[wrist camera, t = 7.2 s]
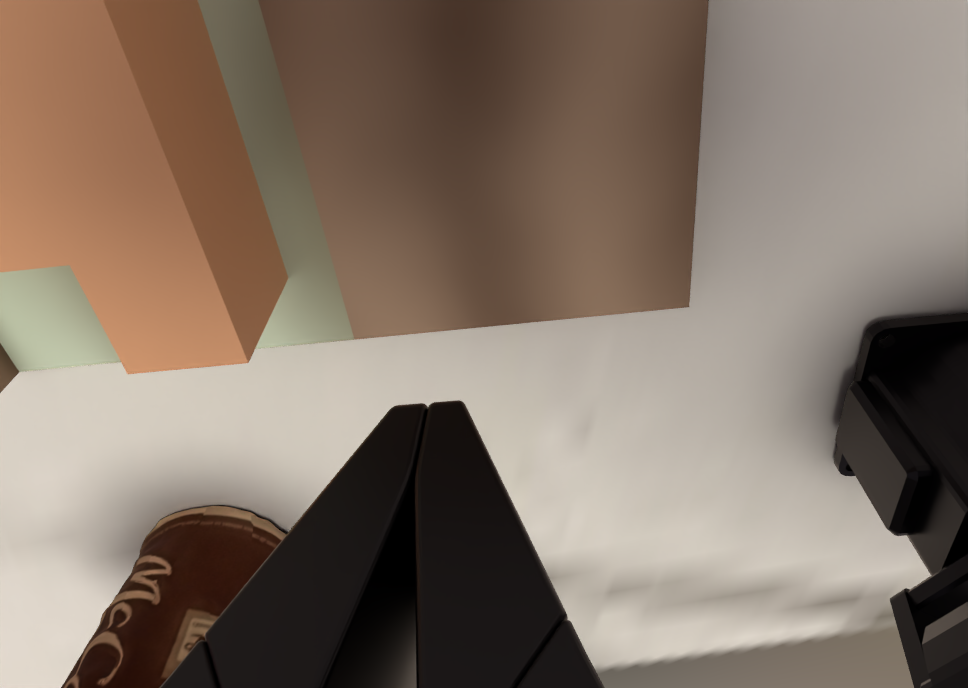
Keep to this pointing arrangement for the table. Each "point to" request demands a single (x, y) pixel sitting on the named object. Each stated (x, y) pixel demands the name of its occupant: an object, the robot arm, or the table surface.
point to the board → (441, 167)
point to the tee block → (134, 178)
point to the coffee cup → (174, 595)
